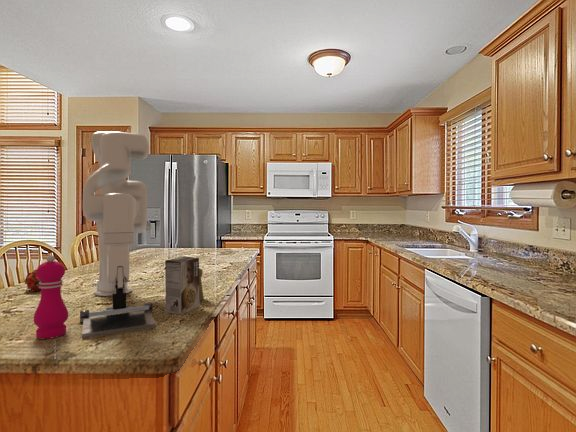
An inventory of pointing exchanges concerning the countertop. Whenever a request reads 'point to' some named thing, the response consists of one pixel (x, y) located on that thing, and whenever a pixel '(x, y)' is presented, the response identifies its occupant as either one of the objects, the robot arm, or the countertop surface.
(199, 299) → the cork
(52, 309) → the pepper mill
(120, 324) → the hinge base
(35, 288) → the dragon fruit
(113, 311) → the panel
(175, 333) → the countertop surface
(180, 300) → the coffee box
